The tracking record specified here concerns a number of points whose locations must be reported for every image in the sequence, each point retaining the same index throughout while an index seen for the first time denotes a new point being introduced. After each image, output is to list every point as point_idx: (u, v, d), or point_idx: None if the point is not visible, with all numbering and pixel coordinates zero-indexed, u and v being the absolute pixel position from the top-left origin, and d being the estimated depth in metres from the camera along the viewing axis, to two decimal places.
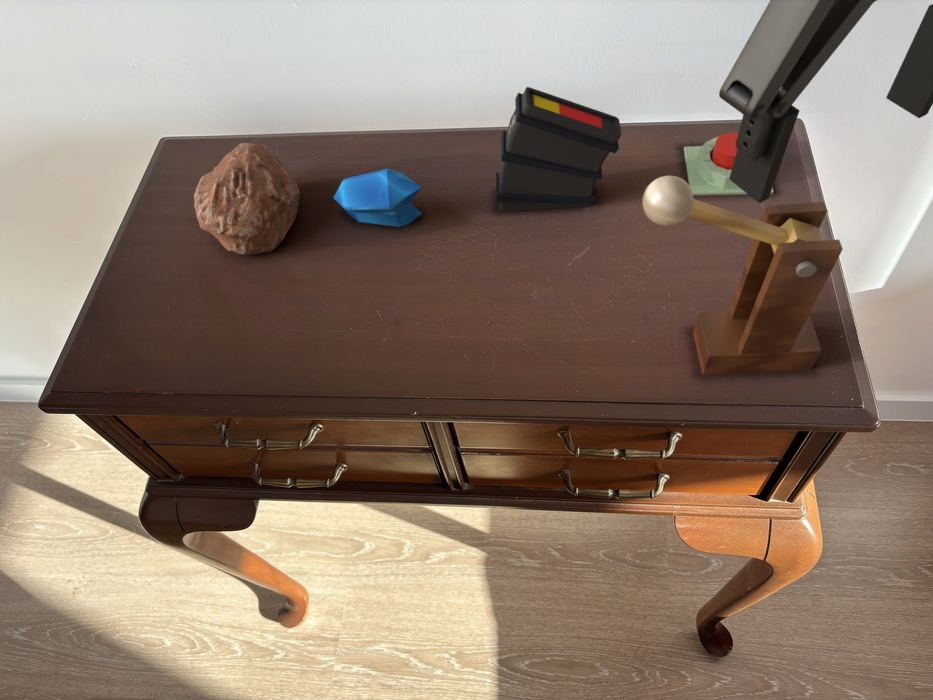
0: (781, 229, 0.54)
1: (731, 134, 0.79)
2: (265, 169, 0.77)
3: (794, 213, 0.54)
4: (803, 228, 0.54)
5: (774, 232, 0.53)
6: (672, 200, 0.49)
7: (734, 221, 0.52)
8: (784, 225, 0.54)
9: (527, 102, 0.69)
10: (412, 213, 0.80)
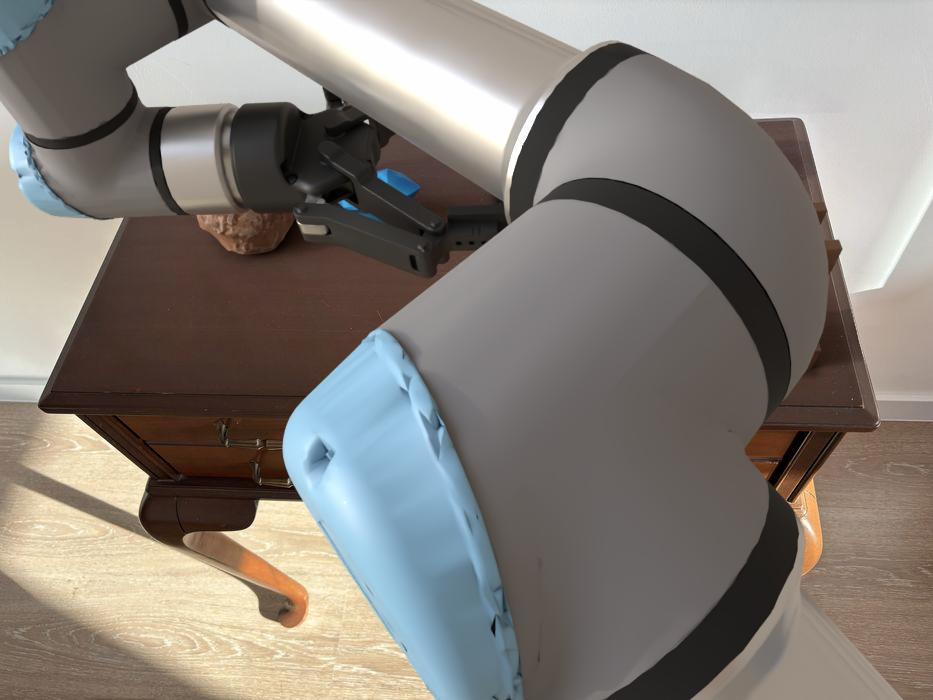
0: None
1: None
2: None
3: None
4: None
5: None
6: None
7: None
8: None
9: None
10: None
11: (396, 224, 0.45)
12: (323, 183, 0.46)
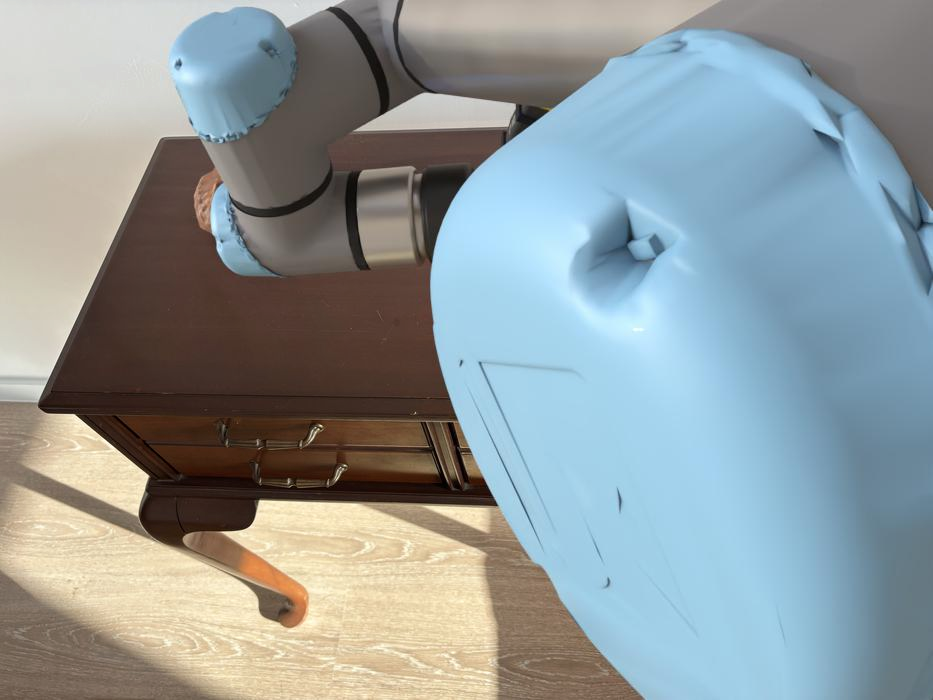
0: None
1: None
2: None
3: None
4: None
5: None
6: None
7: None
8: None
9: None
10: None
11: None
12: None
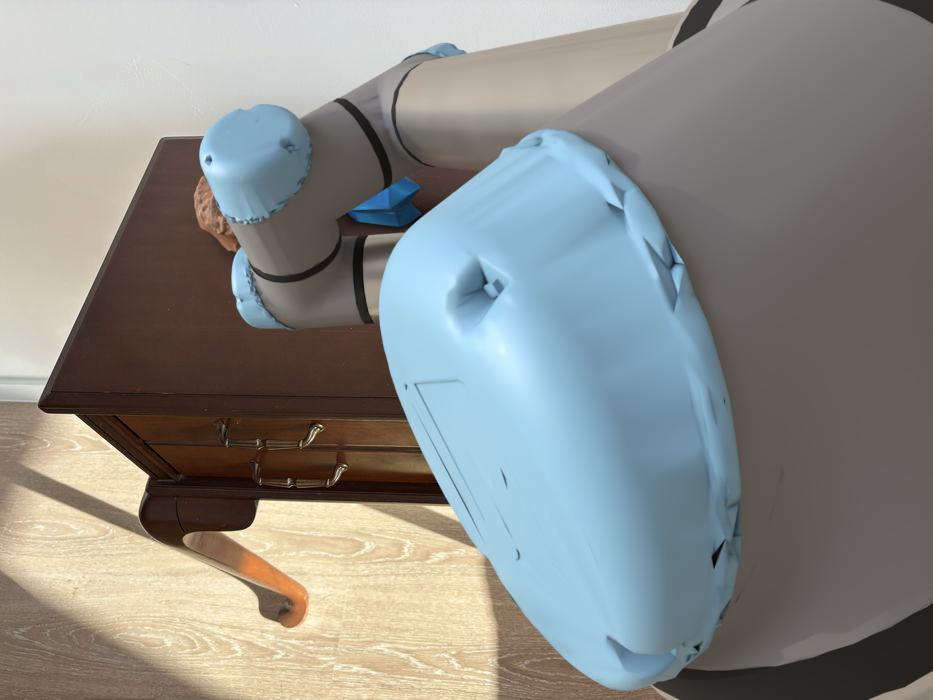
0: None
1: None
2: None
3: None
4: None
5: None
6: None
7: None
8: None
9: None
10: (412, 213, 0.80)
11: None
12: None
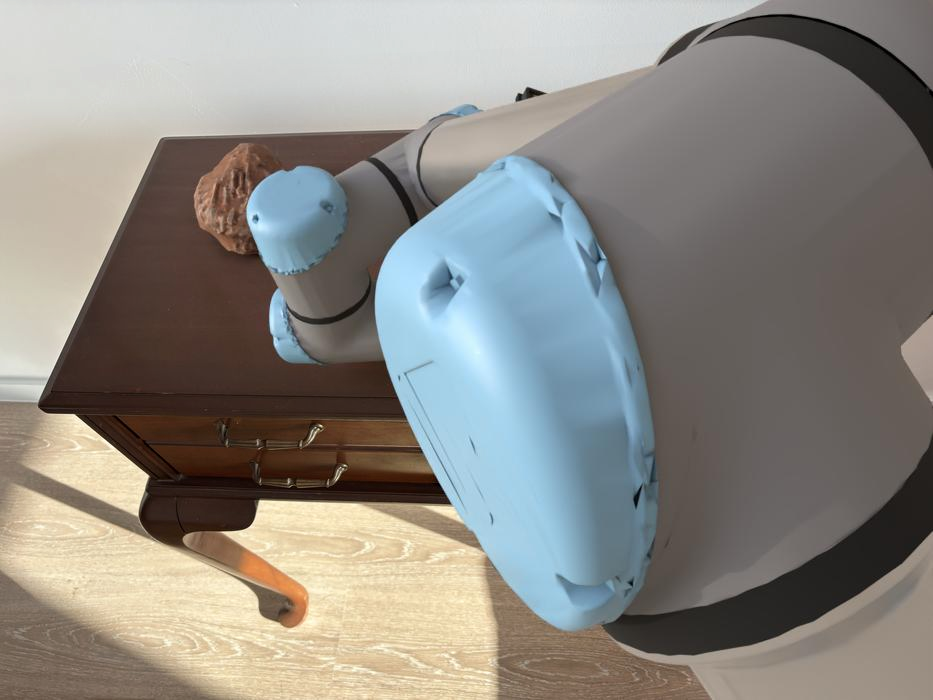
0: None
1: None
2: (265, 169, 0.77)
3: None
4: None
5: None
6: None
7: None
8: None
9: None
10: None
11: None
12: None
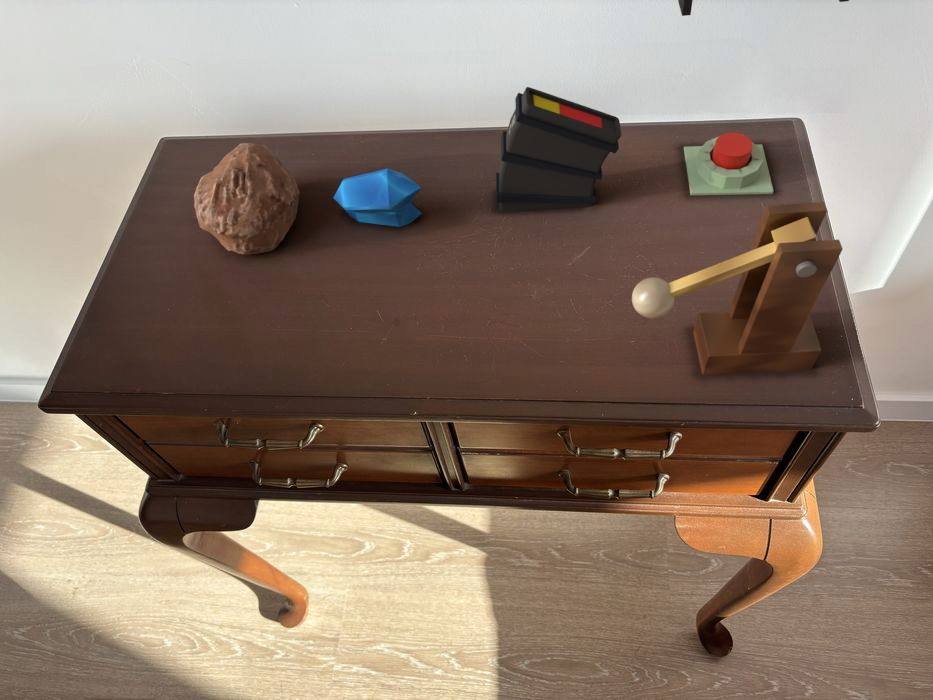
0: (769, 245, 0.55)
1: (731, 134, 0.79)
2: (265, 169, 0.77)
3: (794, 213, 0.54)
4: (786, 232, 0.54)
5: (760, 255, 0.55)
6: (643, 305, 0.59)
7: (714, 275, 0.57)
8: None
9: (527, 102, 0.69)
10: (412, 213, 0.80)
11: None
12: None
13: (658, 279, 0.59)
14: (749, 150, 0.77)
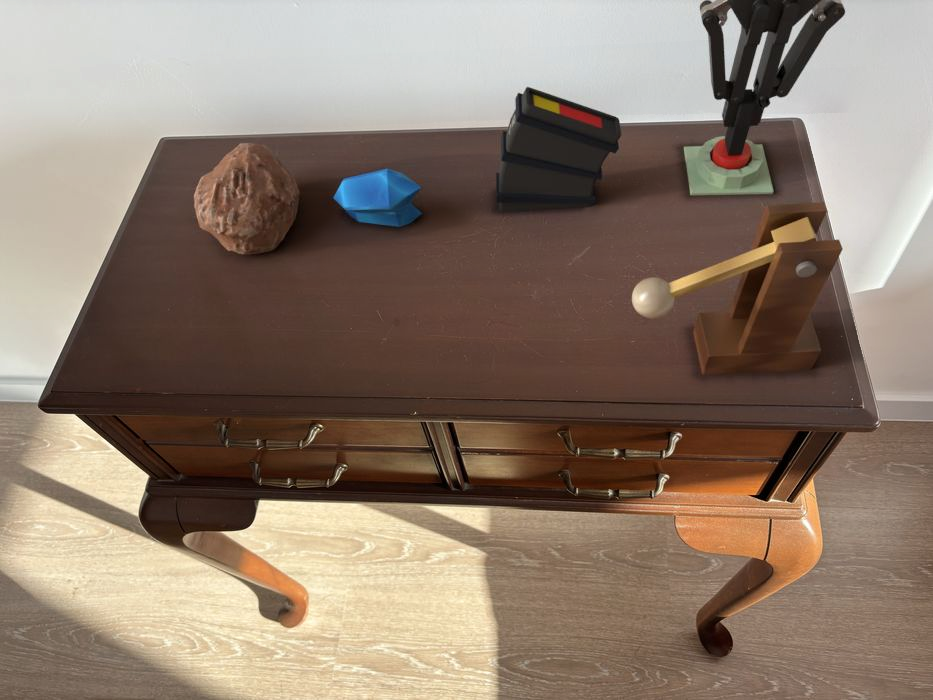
0: (769, 245, 0.55)
1: None
2: (265, 169, 0.77)
3: (794, 213, 0.54)
4: (786, 232, 0.54)
5: (760, 255, 0.55)
6: (643, 305, 0.59)
7: (714, 275, 0.57)
8: None
9: (527, 102, 0.69)
10: (412, 213, 0.80)
11: (735, 61, 0.70)
12: (733, 6, 0.64)
13: (658, 279, 0.59)
14: (748, 155, 0.77)
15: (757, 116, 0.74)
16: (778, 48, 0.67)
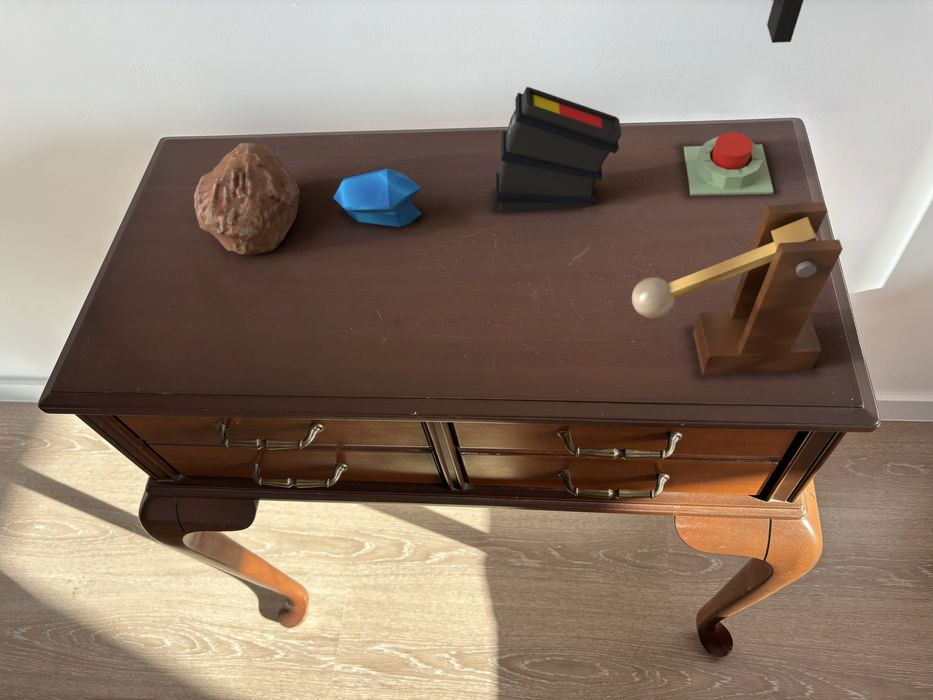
0: (769, 245, 0.55)
1: (731, 134, 0.79)
2: (265, 169, 0.77)
3: (794, 213, 0.54)
4: (786, 232, 0.54)
5: (760, 255, 0.55)
6: (643, 305, 0.59)
7: (714, 275, 0.57)
8: None
9: (527, 102, 0.69)
10: (412, 213, 0.80)
11: None
12: None
13: (658, 279, 0.59)
14: (749, 150, 0.77)
15: None
16: None
